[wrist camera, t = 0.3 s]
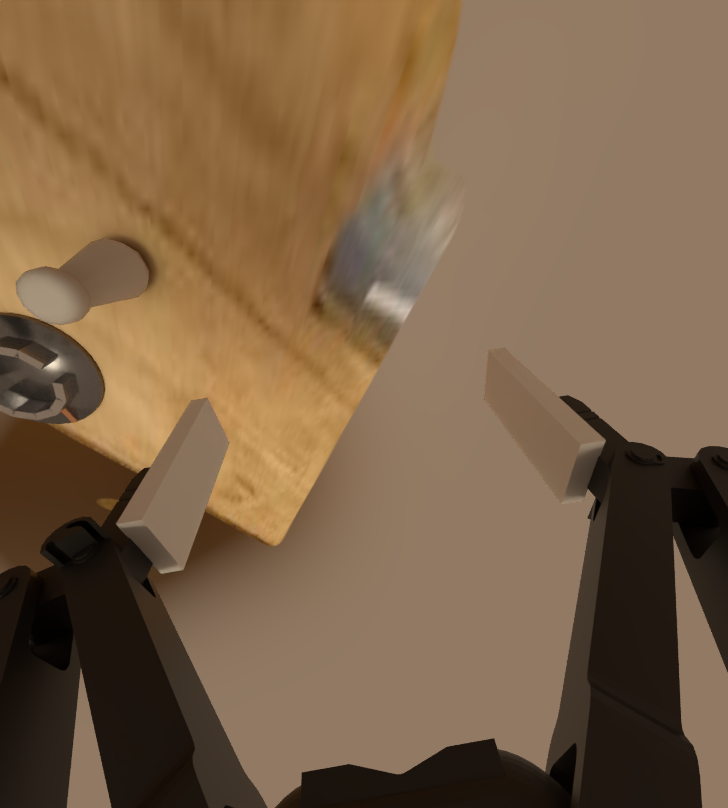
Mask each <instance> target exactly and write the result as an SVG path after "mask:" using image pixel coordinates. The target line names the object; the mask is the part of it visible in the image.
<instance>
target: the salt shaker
mask: <svg viewBox="0 0 728 808" xmlns="http://www.w3.org/2000/svg"><path fill="white" fill-rule="evenodd" d="M148 280H149V269H148V267H147V266H146V264H145V262H144V260H143V258H142V257H141V255H140V253H139V252H137V251H135V250H133V249H132V248H130V247H128V246H127V245H125V244H124V243H122V242H118V241H114V240H110V239H100V240H97V241H93V242H91V243H90V244H88V245H87V246H86V247H85V248H83V249H82V250H81V251H80V252H79V253H77V254H76V255H75V256H74V257H72V258H71V259H70V260H69V261H67V262H66V263H65V264H64V265H63V266H61V267H60V268H59V269H56V268H51V267H46V266H45V267H40V268H36V269H32V270H29V271H26V272H25V273H23V274H22V275H21V277H20V278H19V279H18V280H17V282H16V291H17V295H18V297H19V299H20V301H21V303H22V304H23V306H24V307H25V308H26V309H27V310H29V311H30V312H31V313H32V314H33V315H34V316H36V317H38V318H39V319H41V320H43V321H45V322H47V323H51V324H58V325H64V324H68V323H73V322H77V321H79V320H81V319H82V318H83V317H84V316H85V315H86V314H87V313H88V312H89V310H90V307H95V306H99V305H103V304H108V303H112V302H117V301H121V300H126V299H131V298H135V297H139V296H140V295H141V293H142V292H143V291H144V290H145V289H146V288H147V286H148Z"/></svg>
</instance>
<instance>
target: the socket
mask: <svg viewBox="0 0 728 808" xmlns="http://www.w3.org/2000/svg"><path fill="white" fill-rule="evenodd" d="M104 390H105V388H104V380H103V376H102V374H101V371H100V369H99V367H98V366H97V364H96V362H95V361H94V360H93V358H92V357H91V356H90V354H89V353H88V352H87V351H86V350H85V349H84V348H83V347H82V346H81V345H80V344H79V343H78V342H76V341H75V340H74V339H72V338H71V337H70V336H68V335H67V334H65V333H64V332H62V331H61V330H59V329H57V328H55V327H53V326H51V325H49V324H47V323H45V322H43V321H40V320H37V319H34V318H31V317H28V316H23V315H19V314H12V313H0V411H2V412H4V413H6V414H8V415H11V416H14V417H18V418H25V419H29V420H33V421H37V422H43V423H51V424H63V423H71V422H72V423H74V422H77V421H79V420H81V419H84V418H85V417H87V416H89V415H90V414H91V413H93V412H94V411H95V410H96V408H97V407H98V406H99V405H100V403H101V402H102V399H103V396H104Z"/></svg>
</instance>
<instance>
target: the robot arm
mask: <svg viewBox="0 0 728 808" xmlns="http://www.w3.org/2000/svg"><path fill="white" fill-rule="evenodd" d="M486 372H487V373H486V383H485V395H484V400H485V401H486V403H487V404H488V405H489V407H490V408H491V409H492V411H493V412H494V413H495V415H496V416H497V418H498V419H499V420H500V422H501V423H502V424H503V425H504V427H505V428H506V430H507V431H508V432H509V434H510V435H511V436H512V438H513V439H514V441H515V442H516V443H517V445H518V446H519V447H520V448H521V450H522V451H523V453H524V454H525V456H526V457H527V458H528V460H529V461H530V462H531V464H532V465H533V466H534V468H535V469H536V470H537V472H538V473H539V474H540V476H541V477H542V478H543V480H544V481H545V482H546V484H547V485H548V487H549V488H550V489H551V491H552V492H553V493H554V495H555V496H556V497H557V499H558V500H559V502H560V503H561V504H566V503H572V502H578V501H583V500H584V497H585V495H586V492H587V490H588V489H589V490H590V491H591V493H592V494H593V495H594V496H595V497H596V498H595V501H594V504H593V506H592V509H591V511H590V514H589V516H588V519H591V521H590V527H589V533H588V539H587V545H586V551H585V557H584V564H583V569H582V575H581V581H580V588H579V593H578V600H577V606H576V612H575V618H574V624H573V630H572V636H571V643H570V649H569V654H568V660H567V666H566V672H565V679H564V685H563V691H562V697H561V704H560V709H559V714H558V719H557V723H556V726H555V729H554V732H553V736H552V740H551V744H550V749H549V754H548V759H547V765H546V771H545V772H544V771H543V770H542V769H540V768H539V767H537V766H536V765H534V764H533V763H531V762H529V761H527V760H526V759H524V758H522V757H520V756H518V755H515V754H512V753H510V752H507V751H503V750H499V749H497V746H496V743H495V740H494V739H488V740H482V741H477V742H471V743H466V744H460V745H454V746H449V747H446V748H444V749H443V750H441V751H439V752H438V753H437V754H435V755H433V756H432V757H430V758H428V759H426V760H425V761H423V762H422V763H420V764H418V765H417V766H415V767H413V768H412V769H410V770H409V771H407V772H405V773H403V774H392V773H387V772H383V771H378V770H374V769H369V768H364V767H360V766H355V765H350V764H347V765H342V766H337V767H331V768H325V769H319V770H314V771H308V772H302V782H301V786H299V787H298V788H296V789H295V790H294V791H292V792H291V793H290V794H289V795H287V796H286V797H285V798H284V799H283V800H282V801H281V802H280V803H279V804H278V805H277V806H276V807H275V808H702V800H701V784H700V774H699V766H698V760H697V756H696V753H695V750H694V747H693V745H692V744H691V743H690V742H689V740H688V739H687V738H686V737H685V735H684V733H683V730H682V723H681V707H680V685H679V662H678V638H677V615H676V593H675V570H674V548H673V536H674V539H675V541H676V544H677V546H678V549H679V551H680V554H681V556H682V559H683V561H684V564H685V566H686V569H687V571H688V574H689V576H690V579H691V581H692V584H693V586H694V589H695V591H696V594H697V596H698V599H699V601H700V604H701V606H702V609H703V611H704V614H705V616H706V619H707V621H708V624H709V627H710V629H711V632H712V634H713V637H714V639H715V642H716V644H717V647H718V649H719V652H720V654H721V657H722V659H723V662H724V664H725V667H726V669H727V672H728V448H724V447H718V446H708V447H704V448H701V450H700V451H699V452H698V453H697V455H696V457H695V458H679V457H666V456H665V455H664V454H663V453H662V452H661V451H659V450H657V449H655V448H654V447H651V446H648V445H645V444H642V443H636V442H628V441H627V440H626V439H625V438H624V437H622V436H621V435H620V434H619V433H618V432H617V431H615V430H614V429H613V428H612V427H611V426H609V425H608V424H607V423H606V422H605V421H603V420H602V419H600V418H599V416H598V415H596V414H595V413H594V412H591V409H589V408H588V407H587V406H586V405H585V404H584V403H582V402H581V401H579V400H577V399H575V398H573V397H570V396H561V397H558V396H557V395H556V394H555V393H554V392H553V391H552V390H550V389H549V388H548V387H547V386H546V385H545V384H544V383H543V382H542V381H541V380H540V379H538V378H537V377H536V376H535V375H534V374H533V373H532V372H531V371H530V370H529V369H527V368H526V367H525V366H524V365H523V364H522V363H521V362H520V361H519V360H518V359H517V358H515V357H514V356H513V355H512V354H511V353H510V352H509V351H508V350H507V349H506V348H499V349H493V350H489V351H488V360H487V371H486ZM228 445H229V441H228V439H227V437H226V435H225V432H224V430H223V428H222V426H221V424H220V422H219V420H218V418H217V416H216V414H215V412H214V410H213V408H212V406H211V404H210V402H209V400H208V398H203V399H197V400H191V401H190V403H189V405H188V406H187V408H186V410H185V411H184V413H183V415H182V416H181V418H180V420H179V421H178V423H177V424H176V426H175V428H174V429H173V431H172V433H171V434H170V436H169V438H168V439H167V441H166V443H165V444H164V446H163V447H162V449H161V451H160V452H159V454H158V456H157V457H156V459H155V461H154V462H153V464H152V466H151V467H149V468H144V469H143V470H141V471H140V472H139V473H138V474H137V475H136V476H135V477H134V478H133V479H132V480H131V482H130V484H129V485H128V486H127V488H126V489H125V492H124V493H123V494H122V496H121V497H120V499H119V502H117V503H116V505H115V506H114V508H113V510H112V511H111V513H110V514H109V516H108V517H107V519H106V520H105V522H104V523H103V525H102V527H100V526H99V525H98V524H97V523H96V522H95V521H94V520H93V519H92V518H91V517H81V518H77V519H74V520H72V521H69V522H67V523H65V524H64V525H62V526H61V527H59V528H58V529H57V530H55V531H54V532H53V533H52V534H51V535H50V536H49V537H48V538H47V539H46V540H45V542H44V543H43V545H42V547H41V551H40V553H41V554H42V555H43V556H44V557H46V558H47V559H48V560H49V561H50V562H52V563H53V564H54V566H51V567H49V568H47V569H44V570H42V571H40V572H37V573H35V572H34V571H33V570H31V569H30V568H28V567H27V566H17V567H14V568H11V569H8V570H7V571H5V572H3V573H1V574H0V808H67V797H68V788H69V777H70V768H71V758H72V748H73V738H74V729H75V719H76V709H77V699H78V688H79V679H80V669H82V674H83V678H84V683H85V687H86V692H87V697H88V701H89V705H90V710H91V715H92V720H93V724H94V729H95V733H96V738H97V742H98V747H99V752H100V756H101V761H102V766H103V770H104V775H105V779H106V784H107V789H108V793H109V798H110V802H111V807H112V808H267V806H266V804H265V802H264V800H263V798H262V797H261V795H260V793H259V792H258V790H257V789H256V787H255V786H254V785H253V783H252V782H251V781H250V779H249V778H248V777H247V775H246V774H245V772H244V770H243V768H242V766H241V764H240V762H239V760H238V758H237V756H236V754H235V752H234V750H233V748H232V746H231V743H230V741H229V739H228V737H227V735H226V733H225V731H224V729H223V727H222V725H221V723H220V720H219V718H218V716H217V714H216V712H215V710H214V708H213V706H212V704H211V702H210V700H209V698H208V695H207V694H206V691H205V689H204V687H203V685H202V683H201V681H200V679H199V677H198V675H197V673H196V671H195V669H194V666H193V664H192V662H191V660H190V658H189V656H188V654H187V652H186V650H185V648H184V645H183V643H182V641H181V639H180V637H179V635H178V633H177V631H176V629H175V627H174V625H173V623H172V620H171V619H170V616H169V615H168V612H167V610H166V608H165V606H164V604H163V602H162V600H161V598H160V595H159V594H158V592H157V589H156V587H155V585H154V583H153V581H152V580H151V579H150V578H149V577H148V576H147V575H148V573H149V571H150V569H151V566H152V564H153V565H154V566H155V568H156V569H157V570H158V571H159V572H160V573H161V574H162V573H167V572H173V571H179V570H183V569H184V566H185V564H186V561H187V558H188V555H189V553H190V550H191V547H192V544H193V542H194V539H195V536H196V533H197V530H198V528H199V525H200V522H201V519H202V517H203V514H204V511H205V509H206V506H207V503H208V500H209V498H210V495H211V492H212V489H213V487H214V484H215V481H216V478H217V476H218V473H219V470H220V467H221V465H222V462H223V459H224V456H225V453H226V451H227V448H228Z"/></svg>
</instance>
